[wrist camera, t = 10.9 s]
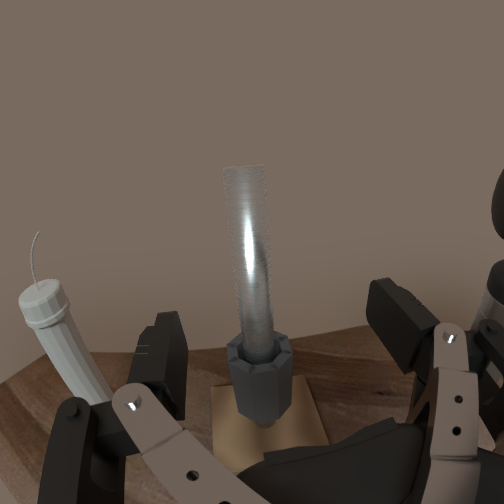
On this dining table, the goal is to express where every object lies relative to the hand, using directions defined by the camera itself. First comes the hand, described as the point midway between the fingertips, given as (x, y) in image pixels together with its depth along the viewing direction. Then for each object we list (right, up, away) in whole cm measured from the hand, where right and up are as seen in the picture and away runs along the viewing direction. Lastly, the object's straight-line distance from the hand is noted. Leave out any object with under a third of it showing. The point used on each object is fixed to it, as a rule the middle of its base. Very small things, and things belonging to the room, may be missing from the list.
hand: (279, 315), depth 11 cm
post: (+1, -21, +21) cm, 29 cm away
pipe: (-19, -23, +19) cm, 36 cm away
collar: (0, -15, +19) cm, 24 cm away
